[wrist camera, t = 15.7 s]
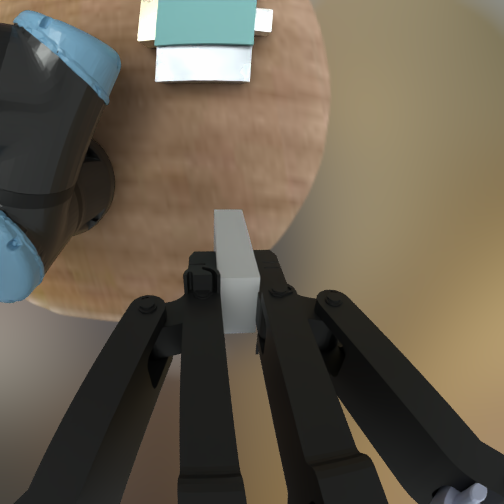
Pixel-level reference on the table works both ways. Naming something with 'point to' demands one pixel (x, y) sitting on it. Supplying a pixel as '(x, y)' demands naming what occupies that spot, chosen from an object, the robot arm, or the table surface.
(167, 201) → the table surface
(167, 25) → the teal rectangular plate
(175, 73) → the grey block
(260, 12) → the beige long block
